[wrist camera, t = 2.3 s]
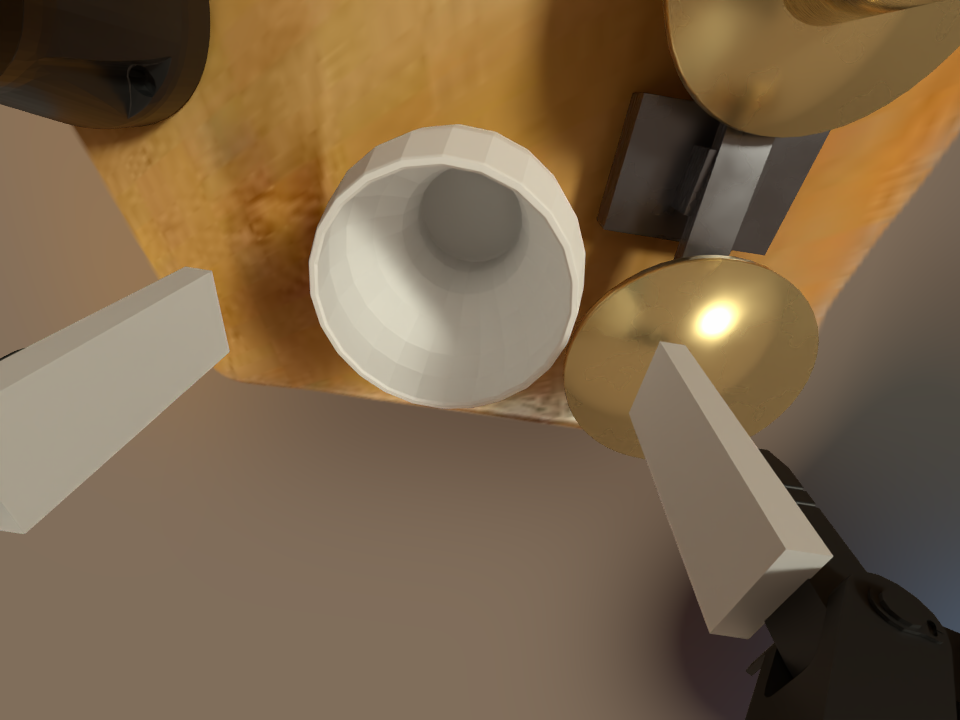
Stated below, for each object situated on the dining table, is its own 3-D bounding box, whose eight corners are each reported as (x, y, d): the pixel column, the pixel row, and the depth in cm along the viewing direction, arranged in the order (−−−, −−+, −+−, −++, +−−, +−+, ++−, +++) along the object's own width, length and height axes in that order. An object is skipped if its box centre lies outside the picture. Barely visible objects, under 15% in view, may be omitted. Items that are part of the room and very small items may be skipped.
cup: (420, 295, 31) (357, 434, 18) (371, 137, 25) (231, 178, 13) (564, 269, 29) (606, 402, 16) (544, 93, 24) (583, 89, 11)
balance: (535, 366, 34) (546, 489, 23) (696, -263, 17) (1002, -854, 6) (692, 390, 34) (773, 522, 23) (1005, -205, 17) (1785, -680, 7)
